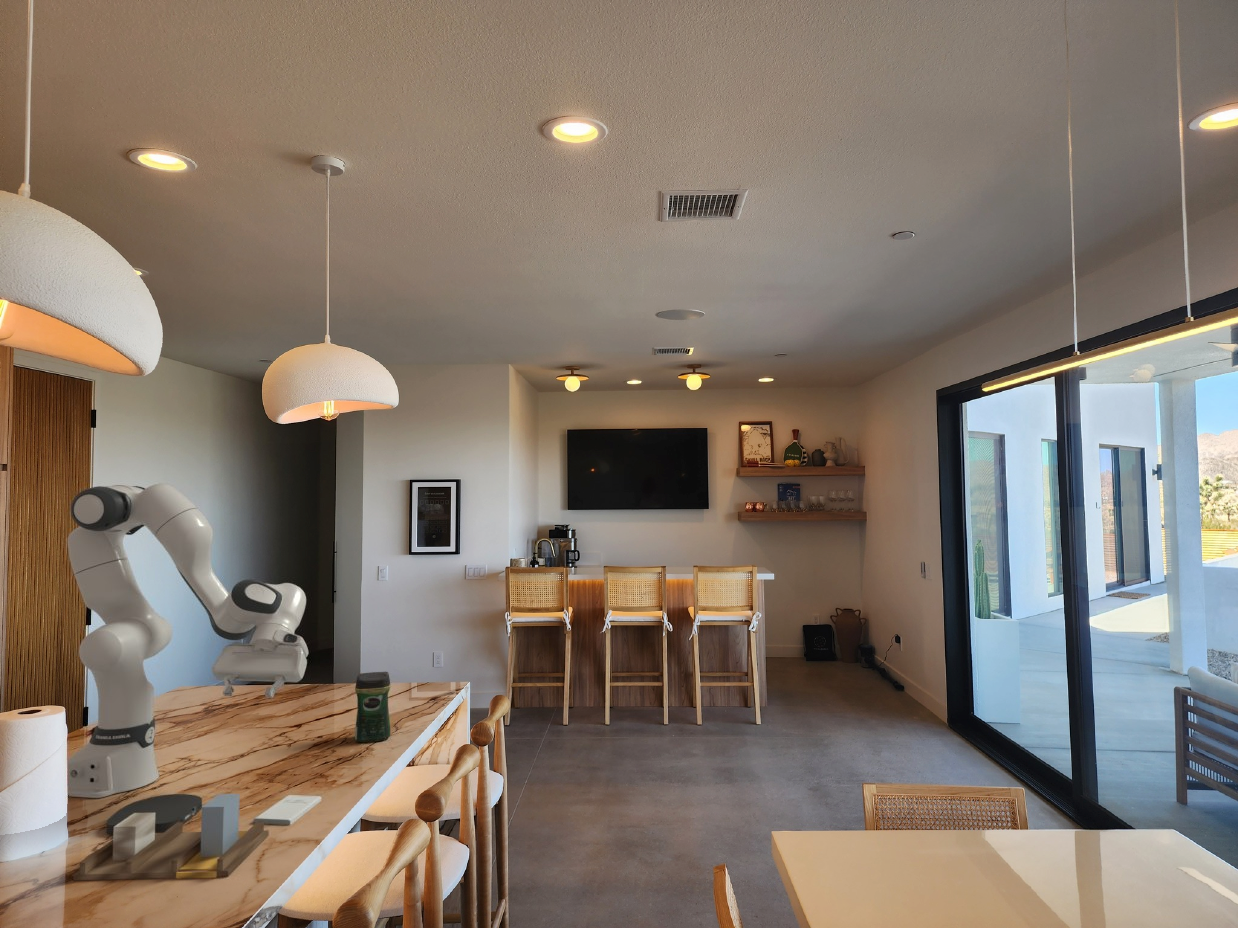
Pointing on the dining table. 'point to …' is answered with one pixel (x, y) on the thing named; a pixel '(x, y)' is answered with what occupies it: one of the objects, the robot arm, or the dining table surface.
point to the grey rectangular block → (219, 825)
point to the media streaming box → (160, 810)
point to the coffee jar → (372, 707)
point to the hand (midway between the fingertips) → (247, 695)
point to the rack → (164, 853)
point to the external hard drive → (288, 809)
